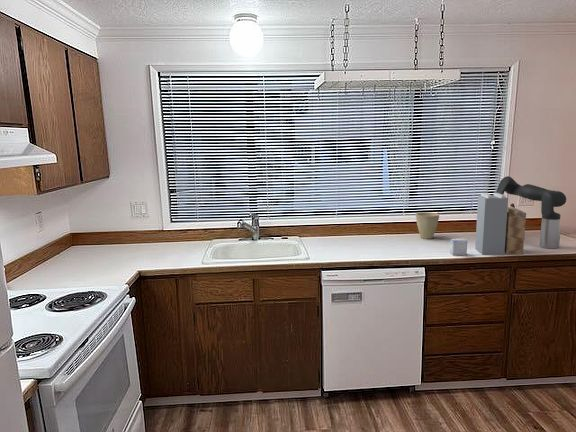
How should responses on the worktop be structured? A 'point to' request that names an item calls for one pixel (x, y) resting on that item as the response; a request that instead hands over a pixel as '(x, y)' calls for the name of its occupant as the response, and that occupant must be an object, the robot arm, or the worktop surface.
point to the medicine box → (458, 247)
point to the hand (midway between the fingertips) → (505, 204)
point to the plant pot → (427, 224)
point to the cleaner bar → (515, 212)
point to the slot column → (491, 223)
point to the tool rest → (514, 234)
